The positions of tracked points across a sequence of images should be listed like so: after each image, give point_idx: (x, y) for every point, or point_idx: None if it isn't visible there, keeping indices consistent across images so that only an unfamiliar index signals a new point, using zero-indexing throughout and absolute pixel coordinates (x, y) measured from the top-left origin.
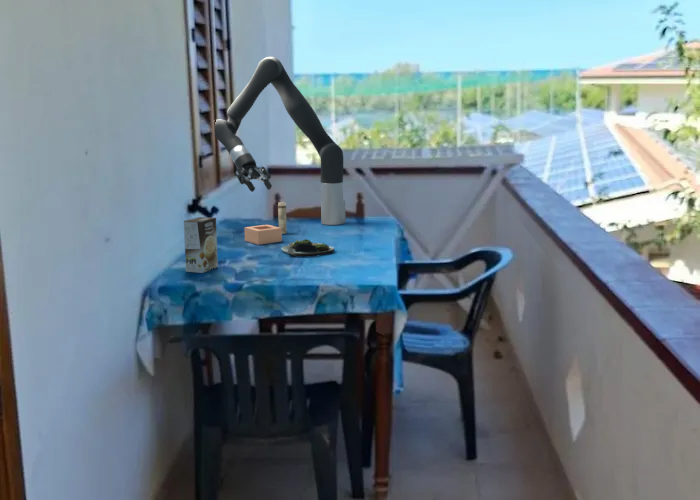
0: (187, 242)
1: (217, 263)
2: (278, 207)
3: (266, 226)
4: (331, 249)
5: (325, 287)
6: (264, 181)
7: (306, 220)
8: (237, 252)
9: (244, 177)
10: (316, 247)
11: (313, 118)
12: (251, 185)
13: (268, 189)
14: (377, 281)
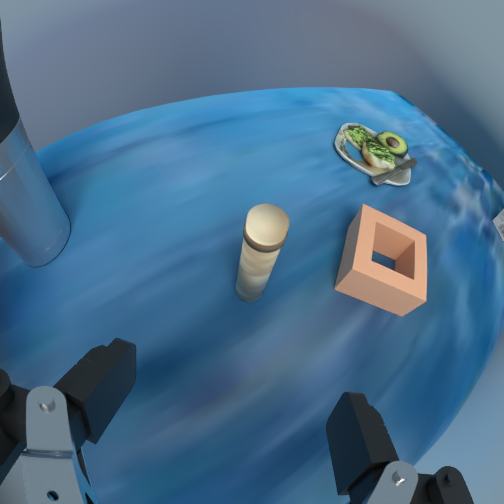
0: None
1: (495, 217)
2: (284, 241)
3: (370, 257)
4: (357, 124)
5: (433, 121)
6: (82, 437)
7: (8, 335)
8: (459, 248)
9: (445, 502)
10: (383, 131)
11: None
12: (371, 426)
13: (135, 376)
14: (394, 96)
